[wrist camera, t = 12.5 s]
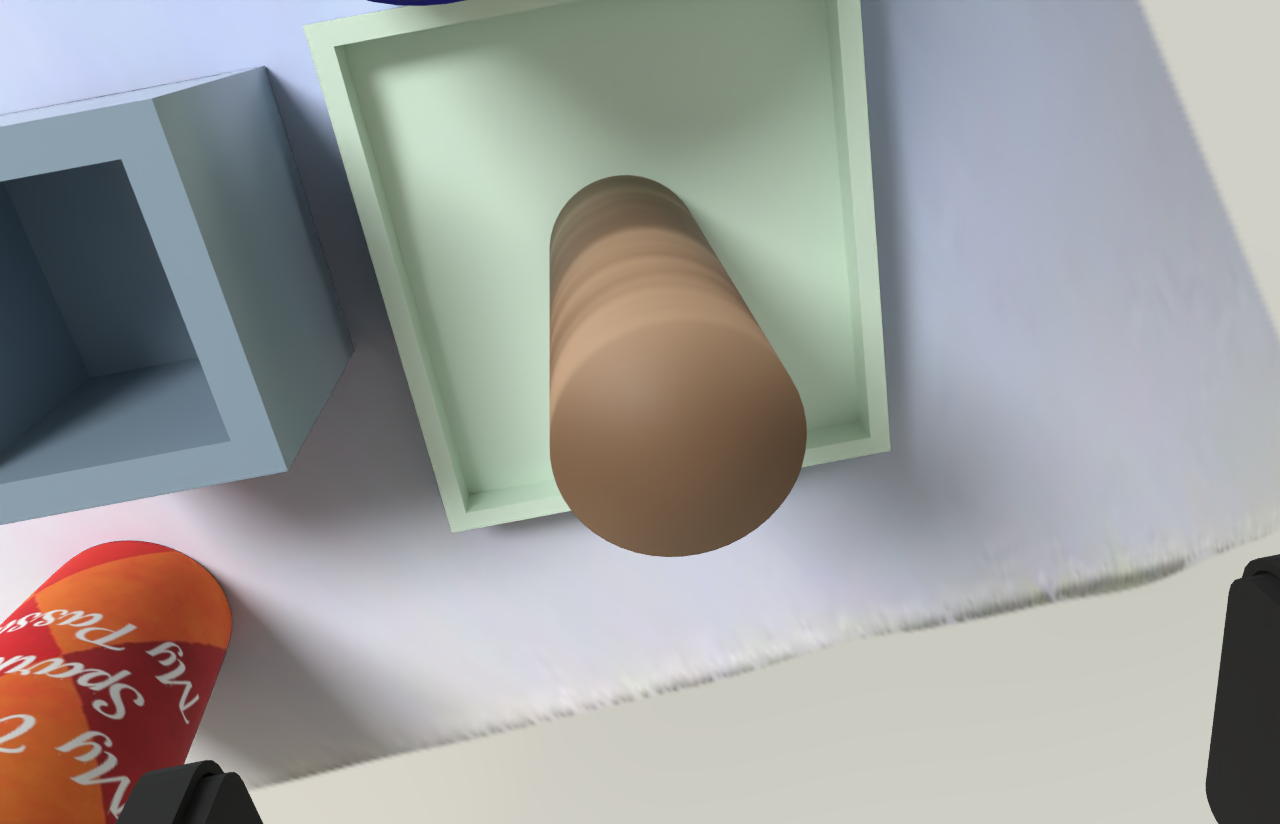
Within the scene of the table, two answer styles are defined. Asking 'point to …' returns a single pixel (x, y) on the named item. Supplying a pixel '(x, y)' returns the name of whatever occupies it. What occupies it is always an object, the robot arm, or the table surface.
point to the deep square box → (157, 297)
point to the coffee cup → (105, 680)
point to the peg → (661, 379)
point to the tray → (584, 153)
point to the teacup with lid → (416, 2)
